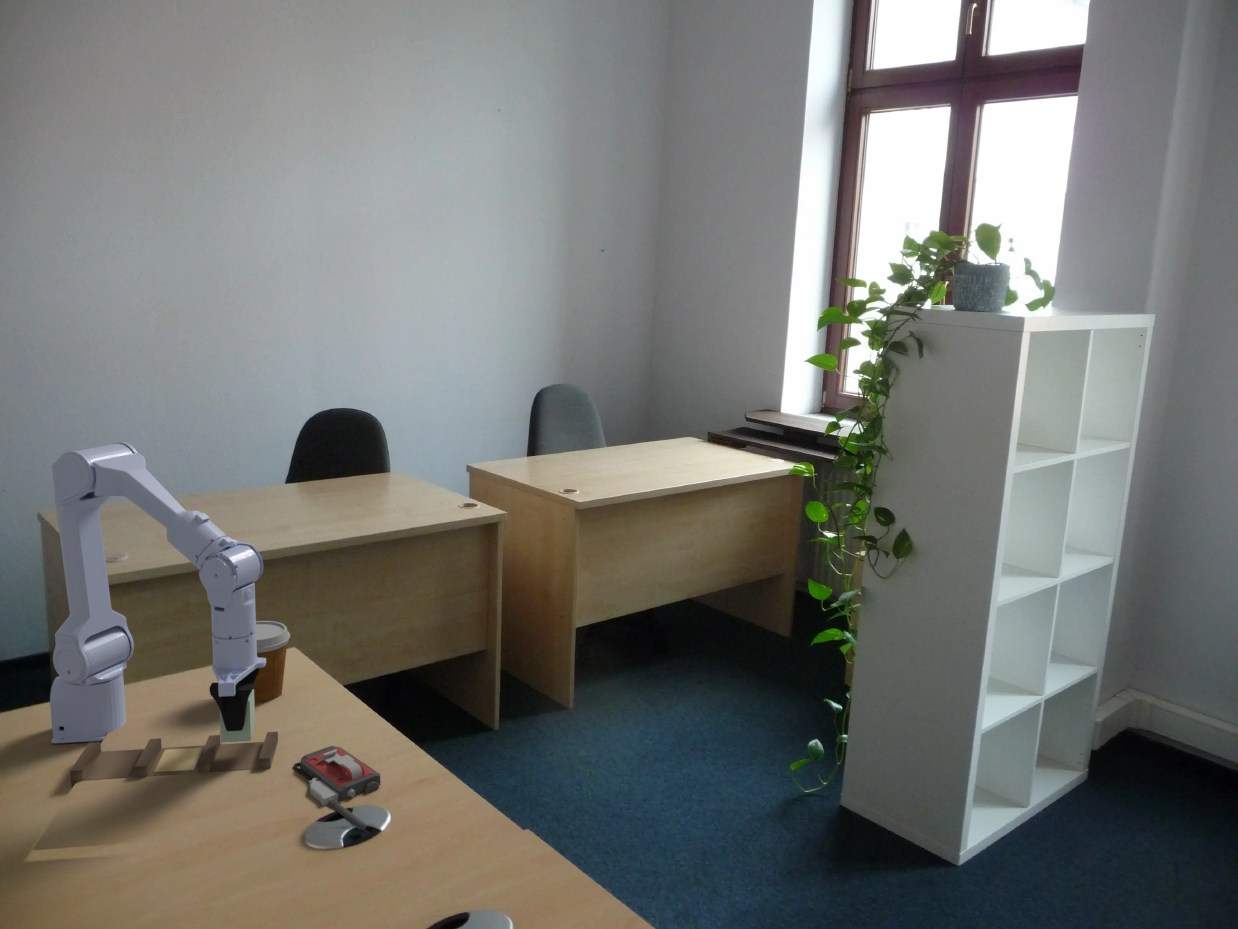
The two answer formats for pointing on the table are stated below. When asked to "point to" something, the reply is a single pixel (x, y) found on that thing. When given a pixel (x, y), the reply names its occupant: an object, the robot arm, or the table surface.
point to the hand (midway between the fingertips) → (237, 722)
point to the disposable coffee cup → (270, 659)
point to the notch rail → (173, 759)
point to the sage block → (247, 728)
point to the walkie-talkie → (337, 778)
